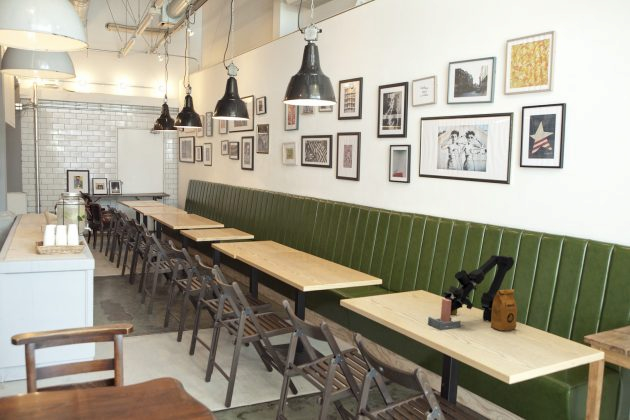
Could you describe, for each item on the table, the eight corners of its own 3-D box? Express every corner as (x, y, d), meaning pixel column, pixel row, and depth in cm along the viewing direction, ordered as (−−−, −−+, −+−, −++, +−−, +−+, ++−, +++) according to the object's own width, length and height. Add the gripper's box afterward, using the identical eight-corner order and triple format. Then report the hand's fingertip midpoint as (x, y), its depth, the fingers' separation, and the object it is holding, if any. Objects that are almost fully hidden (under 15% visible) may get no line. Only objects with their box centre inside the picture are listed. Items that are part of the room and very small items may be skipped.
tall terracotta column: (443, 321, 294) (445, 298, 293) (450, 324, 289) (452, 300, 288) (439, 322, 293) (441, 298, 291) (446, 325, 288) (448, 301, 287)
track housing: (448, 321, 299) (449, 314, 299) (461, 327, 290) (462, 319, 290) (427, 324, 292) (428, 317, 292) (440, 330, 283) (441, 322, 283)
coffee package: (518, 331, 289) (522, 291, 287) (500, 332, 284) (503, 292, 283) (506, 325, 298) (509, 287, 296) (487, 326, 294) (491, 287, 292)
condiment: (459, 314, 316) (461, 294, 315) (452, 317, 310) (453, 296, 309) (449, 311, 321) (450, 292, 320) (441, 314, 315) (442, 294, 314)
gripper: (446, 277, 301) (429, 297, 296) (470, 284, 284) (453, 306, 280) (455, 290, 305) (439, 310, 301) (480, 298, 289) (463, 319, 284)
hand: (448, 311), depth 291 cm, fingers closed, pressing on tall terracotta column
